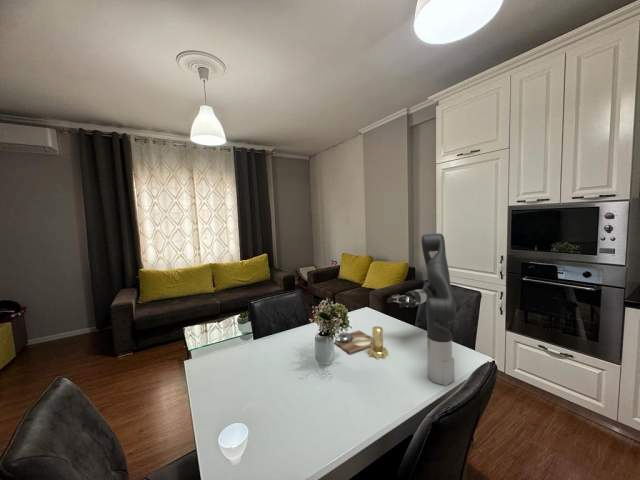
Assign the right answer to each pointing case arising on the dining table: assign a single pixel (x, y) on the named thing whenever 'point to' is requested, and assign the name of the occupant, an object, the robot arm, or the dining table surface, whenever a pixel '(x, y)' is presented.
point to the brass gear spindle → (378, 344)
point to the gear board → (356, 343)
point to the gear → (345, 338)
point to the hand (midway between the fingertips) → (393, 303)
